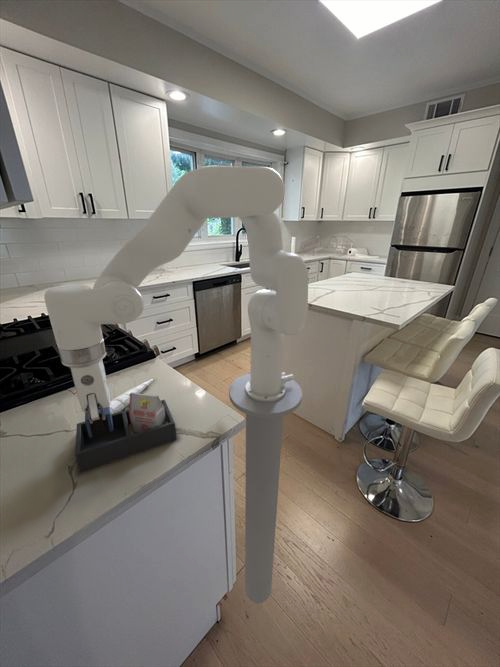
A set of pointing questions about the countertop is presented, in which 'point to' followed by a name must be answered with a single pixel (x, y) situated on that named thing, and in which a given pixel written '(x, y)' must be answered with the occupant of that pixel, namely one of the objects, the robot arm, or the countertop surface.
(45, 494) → the countertop surface
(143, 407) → the white printed box
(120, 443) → the sorter
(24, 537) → the countertop surface
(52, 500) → the countertop surface
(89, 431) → the block
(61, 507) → the countertop surface
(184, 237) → the robot arm
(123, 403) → the unicorn horn
